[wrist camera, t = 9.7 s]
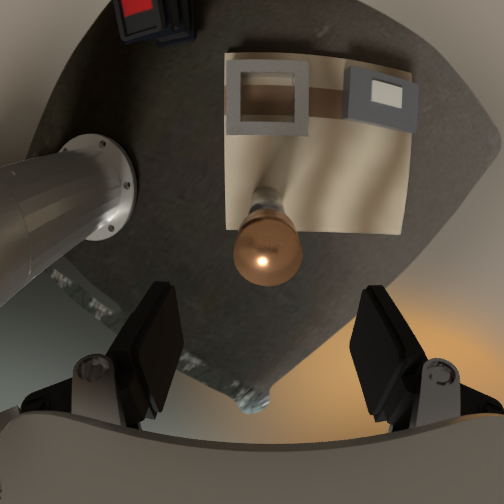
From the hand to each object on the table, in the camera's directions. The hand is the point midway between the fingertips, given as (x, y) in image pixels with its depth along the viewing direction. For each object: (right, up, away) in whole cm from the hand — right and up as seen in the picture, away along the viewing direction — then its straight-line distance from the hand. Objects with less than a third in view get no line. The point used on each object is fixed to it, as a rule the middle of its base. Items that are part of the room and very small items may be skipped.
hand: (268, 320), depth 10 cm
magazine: (-8, +27, +10) cm, 30 cm away
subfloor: (+6, +13, +16) cm, 21 cm away
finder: (+11, +17, +12) cm, 24 cm away
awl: (+1, +8, +17) cm, 19 cm away
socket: (+1, +17, +13) cm, 21 cm away
